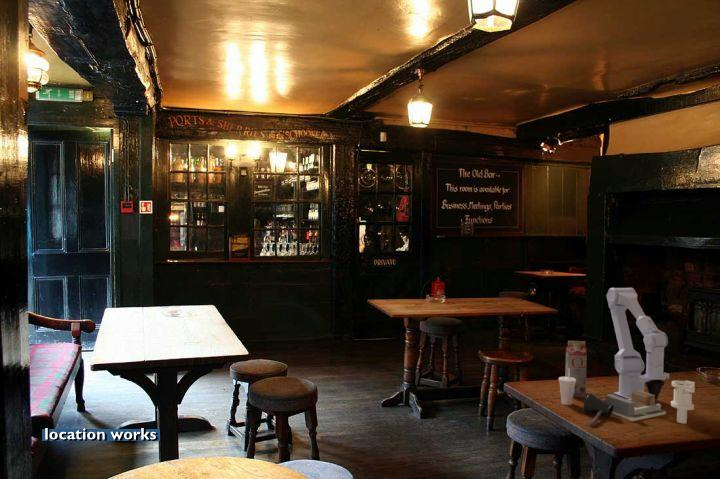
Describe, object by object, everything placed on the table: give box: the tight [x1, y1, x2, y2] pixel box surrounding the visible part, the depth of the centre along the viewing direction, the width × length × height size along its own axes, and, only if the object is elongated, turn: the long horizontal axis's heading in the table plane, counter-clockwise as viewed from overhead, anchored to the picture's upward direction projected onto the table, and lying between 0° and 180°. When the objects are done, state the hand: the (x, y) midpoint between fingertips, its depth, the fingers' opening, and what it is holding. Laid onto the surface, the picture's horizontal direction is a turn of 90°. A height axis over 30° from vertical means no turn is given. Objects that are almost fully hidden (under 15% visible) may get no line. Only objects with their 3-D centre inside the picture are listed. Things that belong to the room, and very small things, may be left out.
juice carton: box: [564, 340, 588, 398], centre depth 223 cm, size 7×7×22 cm
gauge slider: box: [631, 391, 659, 408], centre depth 204 cm, size 5×9×5 cm, turn 25°
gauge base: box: [604, 393, 667, 422], centre depth 203 cm, size 18×13×6 cm
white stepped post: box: [670, 380, 696, 425], centre depth 193 cm, size 7×7×15 cm
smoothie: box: [558, 368, 576, 406], centre depth 211 cm, size 6×6×14 cm
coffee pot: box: [583, 392, 613, 428], centre depth 196 cm, size 8×18×8 cm
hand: (653, 399), depth 208 cm, fingers closed
